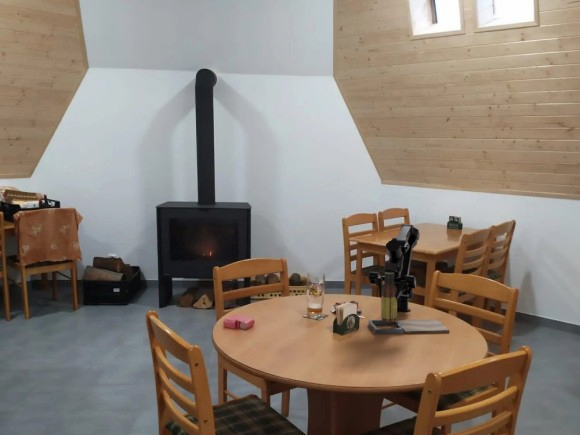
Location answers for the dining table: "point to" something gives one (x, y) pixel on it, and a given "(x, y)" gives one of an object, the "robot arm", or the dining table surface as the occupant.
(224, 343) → the dining table surface
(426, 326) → the brown flat slab
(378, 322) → the grey square frame
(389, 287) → the sauce bottle
